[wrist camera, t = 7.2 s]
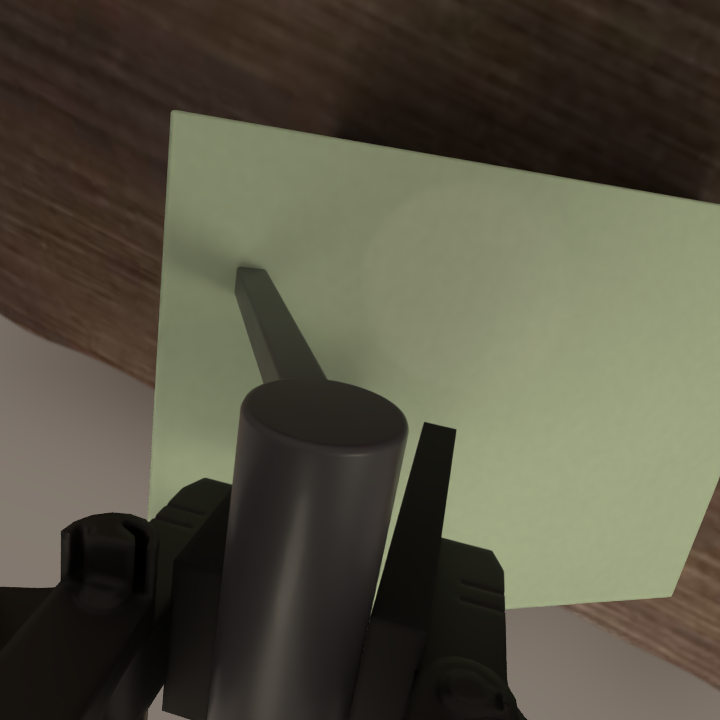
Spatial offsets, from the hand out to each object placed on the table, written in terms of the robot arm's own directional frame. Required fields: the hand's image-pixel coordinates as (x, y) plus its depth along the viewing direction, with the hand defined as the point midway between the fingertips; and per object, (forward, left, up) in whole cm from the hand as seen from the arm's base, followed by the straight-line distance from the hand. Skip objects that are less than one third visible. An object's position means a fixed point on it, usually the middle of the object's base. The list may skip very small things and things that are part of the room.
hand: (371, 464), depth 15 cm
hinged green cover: (+1, +2, -5) cm, 5 cm away
